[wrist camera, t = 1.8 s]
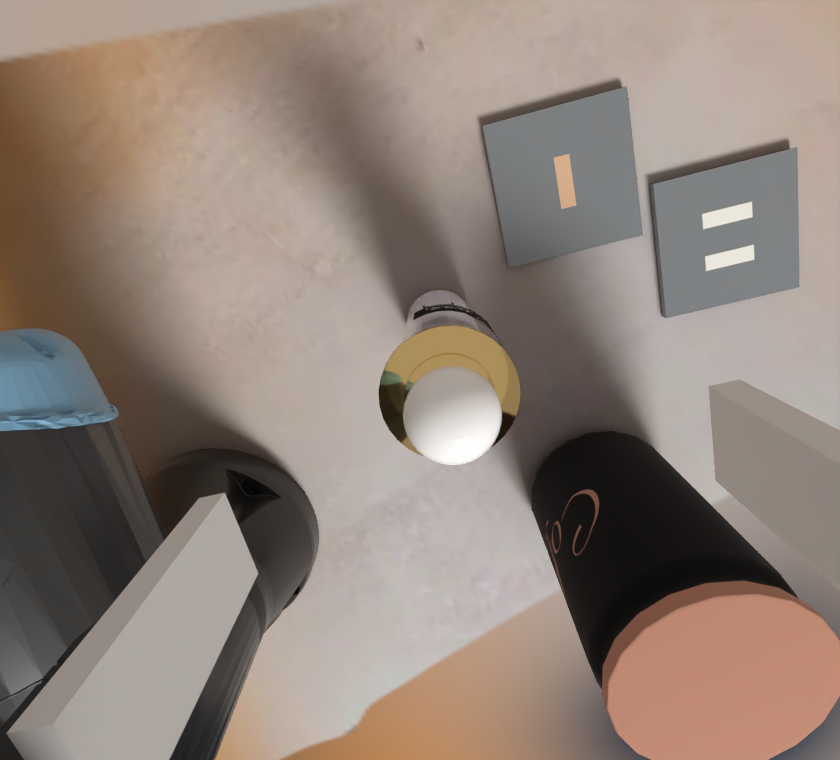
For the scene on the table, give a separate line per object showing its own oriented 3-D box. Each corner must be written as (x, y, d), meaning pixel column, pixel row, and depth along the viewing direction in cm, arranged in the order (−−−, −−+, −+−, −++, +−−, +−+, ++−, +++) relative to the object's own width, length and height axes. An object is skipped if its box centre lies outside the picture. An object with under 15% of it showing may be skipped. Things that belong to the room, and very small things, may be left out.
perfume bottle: (466, 367, 37) (511, 526, 18) (390, 348, 36) (352, 490, 17) (489, 291, 35) (566, 376, 16) (409, 270, 34) (390, 332, 15)
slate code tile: (662, 316, 35) (666, 318, 35) (649, 184, 33) (653, 184, 32) (793, 285, 35) (799, 286, 34) (790, 148, 32) (797, 147, 31)
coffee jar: (537, 420, 38) (631, 585, 21) (676, 429, 38) (883, 601, 21) (519, 539, 41) (587, 767, 24) (647, 547, 41) (805, 779, 24)
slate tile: (508, 267, 34) (509, 268, 34) (481, 127, 32) (482, 125, 31) (639, 234, 34) (642, 234, 33) (623, 88, 31) (627, 86, 30)
